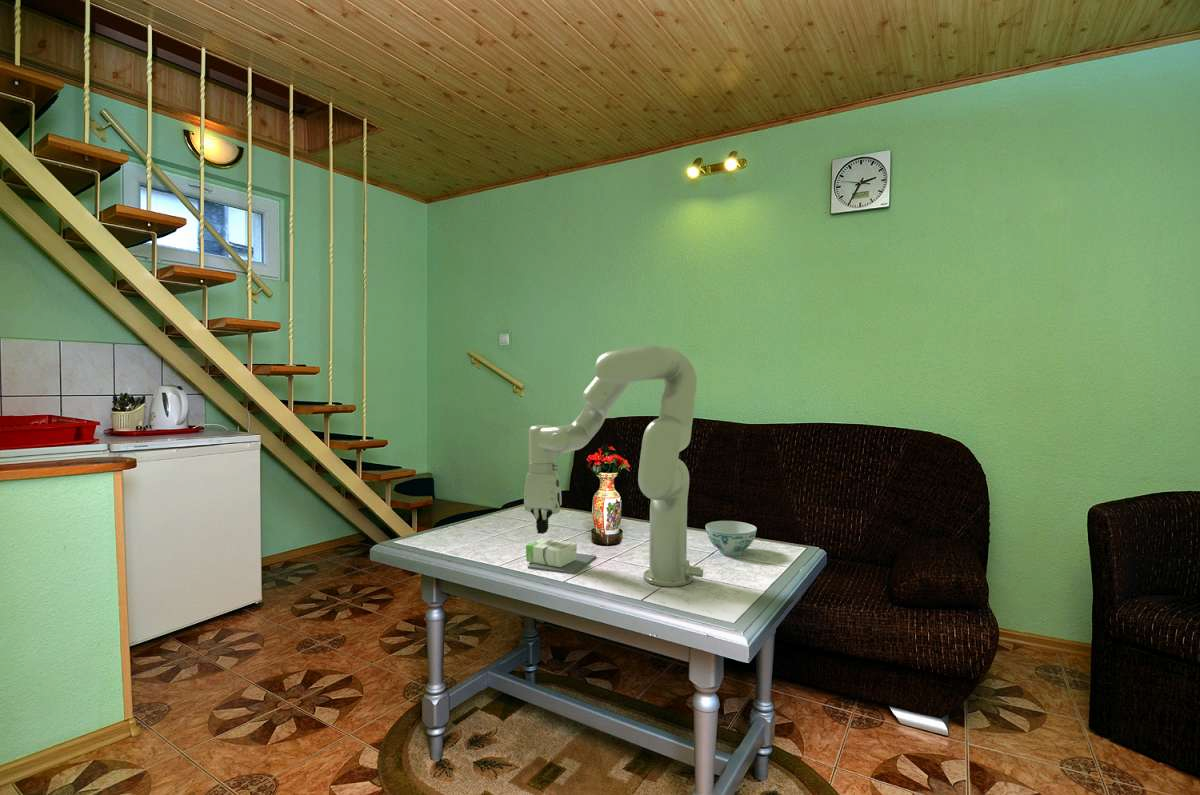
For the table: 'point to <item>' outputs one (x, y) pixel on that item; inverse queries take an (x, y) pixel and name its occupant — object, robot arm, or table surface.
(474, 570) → the table surface
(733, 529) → the chinaware
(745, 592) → the table surface
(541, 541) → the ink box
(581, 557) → the slate mat
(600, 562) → the table surface
